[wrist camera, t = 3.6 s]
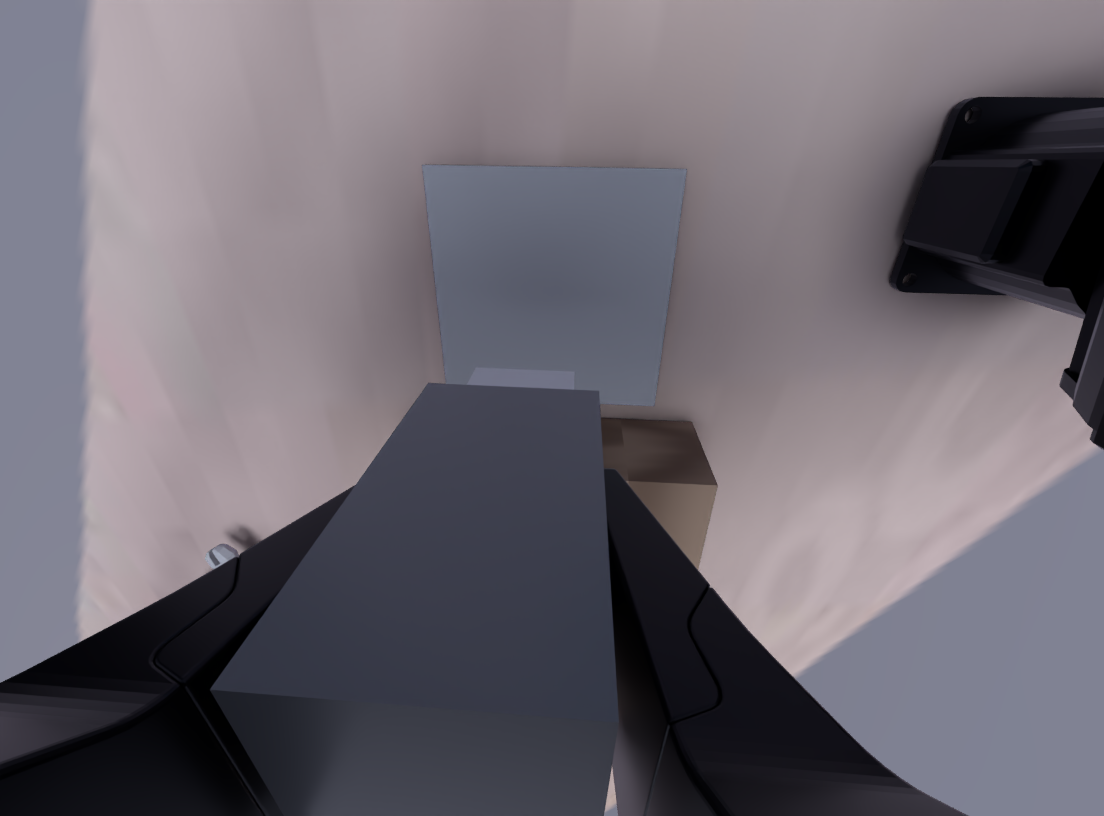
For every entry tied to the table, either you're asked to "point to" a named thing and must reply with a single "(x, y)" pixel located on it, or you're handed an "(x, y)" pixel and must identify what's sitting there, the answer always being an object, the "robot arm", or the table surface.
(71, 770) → the robot arm
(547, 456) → the plug
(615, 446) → the socket box
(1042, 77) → the table surface
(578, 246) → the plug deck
